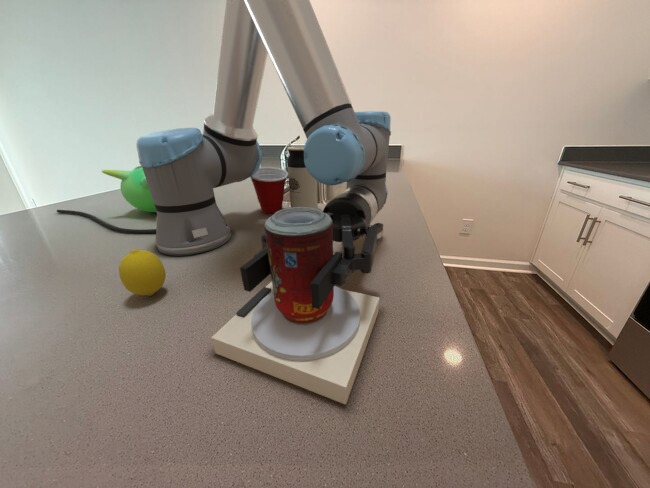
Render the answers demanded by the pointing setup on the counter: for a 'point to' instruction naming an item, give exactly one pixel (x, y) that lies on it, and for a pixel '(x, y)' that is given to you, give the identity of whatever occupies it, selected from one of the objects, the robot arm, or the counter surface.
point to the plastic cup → (270, 188)
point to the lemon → (142, 272)
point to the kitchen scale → (302, 342)
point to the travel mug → (300, 180)
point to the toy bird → (134, 188)
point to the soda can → (298, 260)
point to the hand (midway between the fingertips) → (278, 287)
